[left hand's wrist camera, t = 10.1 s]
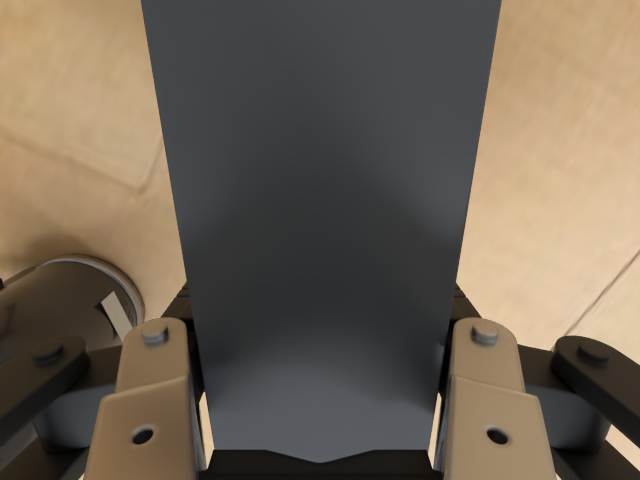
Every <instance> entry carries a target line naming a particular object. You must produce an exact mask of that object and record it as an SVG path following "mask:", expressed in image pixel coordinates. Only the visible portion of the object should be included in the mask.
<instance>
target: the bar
mask: <svg viewBox="0 0 640 480" xmlns="http://www.w3.org/2000/svg"><path fill="white" fill-rule="evenodd" d="M501 1H502V0H141V5H142V11H143V17H144V23H145V29H146V35H147V41H148V48H149V54H150V60H151V66H152V72H153V78H154V84H155V90H156V96H157V102H158V108H159V114H160V120H161V127H162V133H163V139H164V145H165V151H166V157H167V163H168V169H169V175H170V181H171V187H172V193H173V199H174V205H175V212H176V218H177V224H178V230H179V236H180V242H181V248H182V254H183V260H184V266H185V272H186V278H187V284H188V290H189V297H190V303H191V309H192V315H193V321H194V327H195V333H196V339H197V345H198V351H199V357H200V363H201V369H202V375H203V382H204V388H205V394H206V400H207V406H208V412H209V418H210V424H211V430H212V436H213V442H214V448H215V450H269V451H273V452H277V453H281V454H285V455H289V456H293V457H297V458H300V459H304V460H308V461H312V462H317V463H323V462H328V461H332V460H336V459H340V458H343V457H347V456H351V455H355V454H359V453H363V452H367V451H371V450H427V453H428V450H429V444H430V438H431V432H432V426H433V419H434V413H435V407H436V401H437V395H438V389H439V382H440V376H441V370H442V364H443V358H444V352H445V346H446V339H447V333H448V327H449V321H450V315H451V309H452V302H453V296H454V290H455V284H456V278H457V272H458V266H459V259H460V253H461V247H462V241H463V235H464V229H465V222H466V216H467V210H468V204H469V198H470V192H471V186H472V179H473V173H474V167H475V161H476V155H477V149H478V142H479V136H480V130H481V124H482V118H483V112H484V106H485V99H486V93H487V87H488V81H489V75H490V69H491V63H492V56H493V50H494V44H495V38H496V32H497V26H498V19H499V13H500V7H501Z"/></svg>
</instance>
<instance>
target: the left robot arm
mask: <svg viewBox="0 0 640 480" xmlns="http://www.w3.org/2000/svg"><path fill="white" fill-rule="evenodd" d="M143 321H144V307H143V303H142V299H141V297H140V295H139V293H138V291H137V289H136V288H135V286H134V285H133V283H132V282H131V281H130V280H129V279H128V278H127V277H126V276H125V275H124V274H123V273H122V272H121V271H119V270H118V269H117V268H115V267H114V266H112V265H110V264H108V263H106V262H104V261H102V260H100V259H97V258H94V257H91V256H86V255H79V254H68V255H62V256H58V257H55V258H52V259H50V260H48V261H47V262H45V263H43V264H42V265H40V266H38V267H37V268H32V267H29V268H27V269H25V270H23V271H21V272H20V273H18V274H16V275H14V276H13V277H11V278H9V279H7V280H6V281H4V282H2V279H1V278H0V480H79V478H80V477H81V476H82V475H83V474H84V478H83V480H557V478H556V474H557V475H558V476H559V477H560V478H561V480H640V471H639V470H638V469H637V468H636V467H634V466H633V465H632V464H631V463H630V462H629V461H628V460H627V459H626V458H625V457H624V456H623V455H622V454H621V453H619V452H618V451H617V450H616V449H615V448H614V447H613V446H612V445H611V444H610V443H609V442H608V441H607V440H606V439H605V438H606V436H607V433H608V431H609V429H610V426H611V424H612V425H614V426H615V427H616V428H617V429H618V430H619V431H620V432H622V433H623V434H624V435H625V436H626V437H627V438H628V439H629V440H631V441H632V442H633V443H634V444H635V445H636V446H637V447H639V448H640V365H639V364H637V363H636V362H634V361H633V360H631V359H630V358H628V357H627V356H625V355H624V354H622V353H621V352H619V351H618V350H616V349H614V348H613V347H611V346H609V345H607V344H604V343H602V342H600V341H597V340H594V339H590V338H587V337H582V336H564V337H561V338H559V339H558V340H557V341H556V344H555V347H554V350H553V352H552V351H547V350H542V349H537V348H532V347H527V346H523V345H519V344H517V341H516V338H515V336H514V335H513V334H512V332H511V331H509V330H508V329H507V328H505V327H504V326H502V325H500V324H498V323H496V322H494V321H491V320H487V319H483V318H482V317H481V316H480V315H479V313H478V312H477V310H476V309H475V308H474V306H473V305H472V304H471V302H470V301H469V300H468V298H466V296H465V294H464V293H463V291H462V290H460V287H459V286H458V285H457V283H456V284H455V290H454V296H453V302H452V309H451V315H450V321H449V327H448V333H447V339H446V346H445V352H444V358H443V364H442V370H441V376H440V382H439V389H438V393H440V396H441V398H442V399H441V405H440V411H439V420H438V429H437V438H436V448H435V457H434V466H433V469H432V466H431V463H430V460H429V456H428V453H427V450H371V451H367V452H363V453H359V454H355V455H351V456H347V457H343V458H340V459H336V460H332V461H328V462H323V463H317V462H312V461H308V460H304V459H300V458H297V457H293V456H289V455H285V454H281V453H277V452H273V451H269V450H213V453H212V456H211V460H210V463H209V466H208V469H207V466H206V457H205V448H204V438H203V429H202V420H201V411H200V405H199V402H200V399H201V397H202V394H203V392H205V388H204V382H203V375H202V369H201V363H200V357H199V351H198V345H197V339H196V333H195V327H194V321H193V315H192V309H191V303H190V297H189V290H188V284H187V282H186V283H185V285H184V286H183V287H182V290H180V291H179V293H178V294H177V297H175V298H174V300H173V301H172V302H171V304H170V305H169V307H168V308H167V309H166V311H165V312H164V313H163V315H162V316H161V318H157V319H153V320H149V321H146V322H144V323H143ZM84 472H85V473H84ZM555 472H556V473H555Z"/></svg>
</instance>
